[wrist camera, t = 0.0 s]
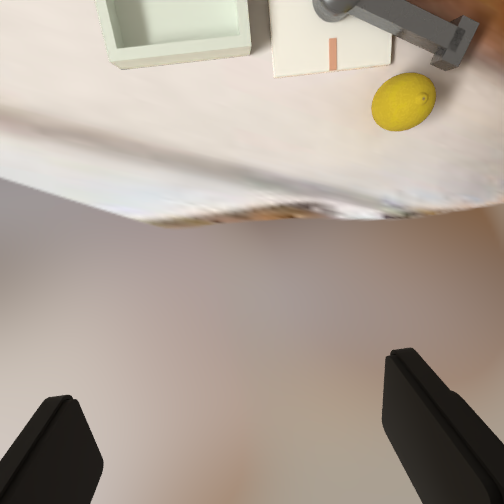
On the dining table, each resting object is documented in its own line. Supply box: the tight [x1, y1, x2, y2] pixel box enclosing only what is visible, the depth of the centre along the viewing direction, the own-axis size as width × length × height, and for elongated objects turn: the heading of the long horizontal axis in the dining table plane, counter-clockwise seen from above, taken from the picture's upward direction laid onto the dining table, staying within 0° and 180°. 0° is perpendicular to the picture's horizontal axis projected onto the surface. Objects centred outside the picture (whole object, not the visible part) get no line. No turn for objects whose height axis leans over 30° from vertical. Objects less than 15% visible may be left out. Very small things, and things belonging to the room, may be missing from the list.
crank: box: [312, 0, 479, 71], centre depth 30 cm, size 17×4×3 cm, turn 71°
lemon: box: [371, 73, 436, 131], centre depth 32 cm, size 6×6×8 cm
